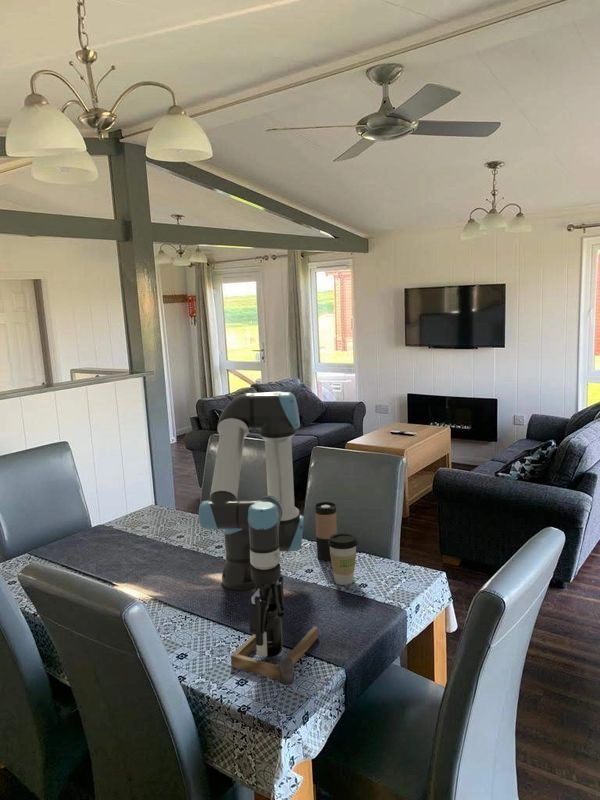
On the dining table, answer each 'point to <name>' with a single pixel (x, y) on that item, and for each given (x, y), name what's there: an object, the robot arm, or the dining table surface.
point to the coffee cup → (343, 557)
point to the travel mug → (325, 528)
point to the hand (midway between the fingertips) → (269, 647)
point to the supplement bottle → (273, 631)
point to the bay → (267, 669)
